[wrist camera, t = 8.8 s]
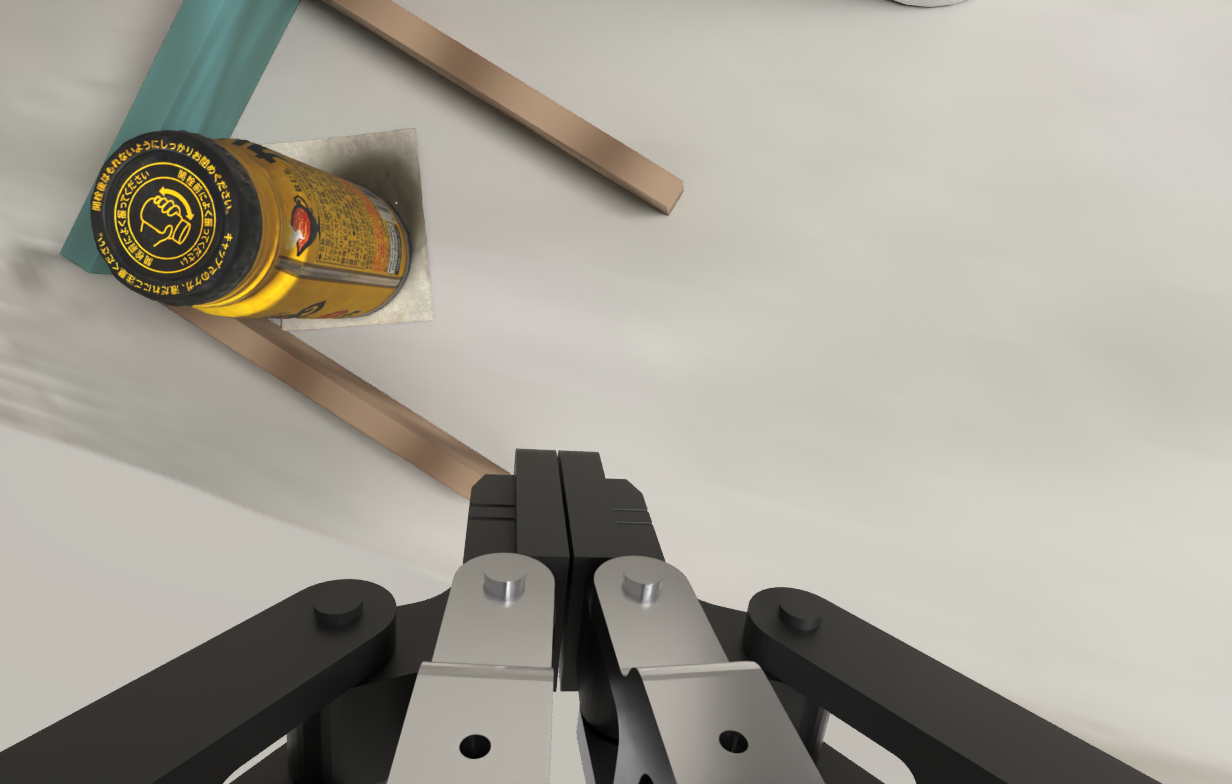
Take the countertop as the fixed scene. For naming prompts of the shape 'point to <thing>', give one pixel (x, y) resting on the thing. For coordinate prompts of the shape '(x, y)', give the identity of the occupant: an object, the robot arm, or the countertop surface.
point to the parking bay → (211, 106)
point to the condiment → (269, 227)
